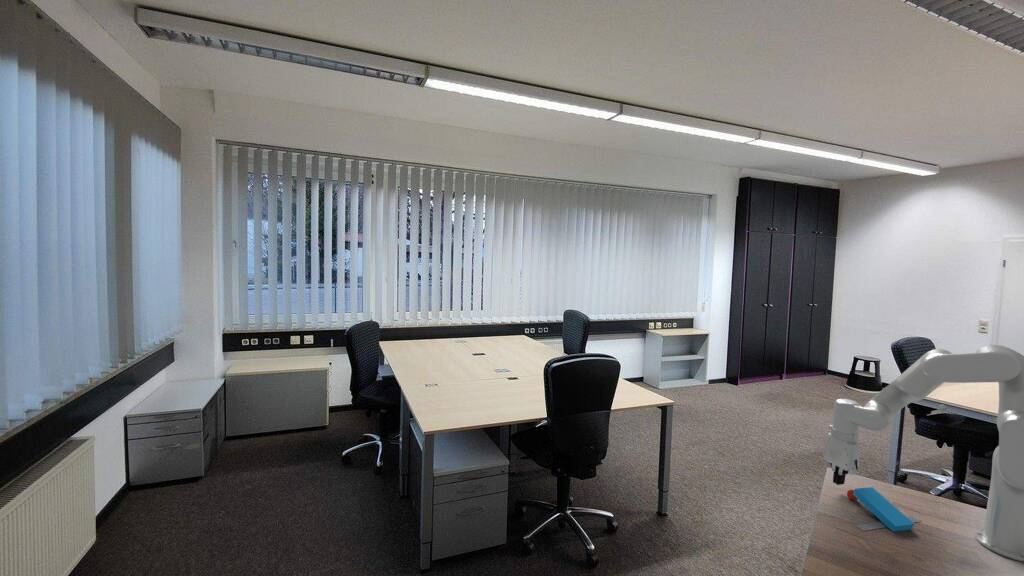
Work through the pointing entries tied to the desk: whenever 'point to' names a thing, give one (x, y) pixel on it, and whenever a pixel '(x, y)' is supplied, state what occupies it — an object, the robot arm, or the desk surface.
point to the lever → (881, 508)
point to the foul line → (880, 524)
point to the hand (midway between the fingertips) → (838, 483)
